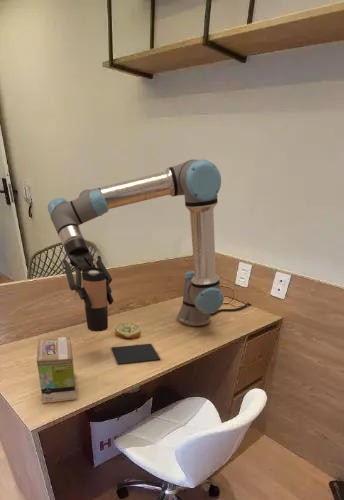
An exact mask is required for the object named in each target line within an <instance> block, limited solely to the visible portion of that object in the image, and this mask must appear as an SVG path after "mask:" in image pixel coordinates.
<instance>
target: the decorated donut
mask: <svg viewBox="0 0 344 500" xmlns="http://www.w3.org/2000/svg"><path fill="white" fill-rule="evenodd" d="M114 332H115V333H116V335H117V337H120V338H124V339H130V340H131V339H135V338H139V337H140V335H141V332H142V330H141V328H140V326H139V325H137V324H135V323H133V322H121V323H119V324H117V325H115V326H114Z"/></svg>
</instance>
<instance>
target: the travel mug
mask: <svg viewBox="0 0 344 500" xmlns="http://www.w3.org/2000/svg"><path fill="white" fill-rule="evenodd" d="M81 280H82V287H84V288H85V290H86V292H87V295H88V297H89V299H90V302H91V304H92V306H91V308H90V309H87V307H86V304H85V302H84V301H83V303H84V310H85V312H84V313H85V319H86V326H87V330H89V331H91V332H97V333H98V332H100V333H101V332H103V331H106V330H108V328H109V315H108V313H109V312H108V311H109V310H108V309H109V308H108V301H107V290H106V274H105V270H104V269H102V268H98V267H96V268H85V269H83V270H82V271H81Z"/></svg>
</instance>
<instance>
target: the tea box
mask: <svg viewBox="0 0 344 500" xmlns="http://www.w3.org/2000/svg"><path fill="white" fill-rule="evenodd" d="M36 351H37V352H36V364H37V365H36V366H37V372H38V379H39V384H40V385H39V386H40V391H41V397H42V402H43V404H46V403H47V404H48V403H55V402H56V403H57V402H58V403H59V402H67V401H74V400H76V399H77V394H76V393H77V392H76V378H75V368H74V358H73V357H74V356H73V349H72V341H71V337H70V336H64V337H62V336H60V337H43V338H38V339H37V350H36Z"/></svg>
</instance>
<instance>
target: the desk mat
mask: <svg viewBox="0 0 344 500" xmlns="http://www.w3.org/2000/svg"><path fill="white" fill-rule="evenodd" d="M111 351H112V352H113V355H114V357H115V360H116V363H117V365H118V366H122V365H129V364H140V363H148V362H158V361H161V358H160V356H159V355H158V352H157V351H156V349H155V348H154V346H153V345H152V343H143V344H133V345H122V346H112V347H111Z"/></svg>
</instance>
